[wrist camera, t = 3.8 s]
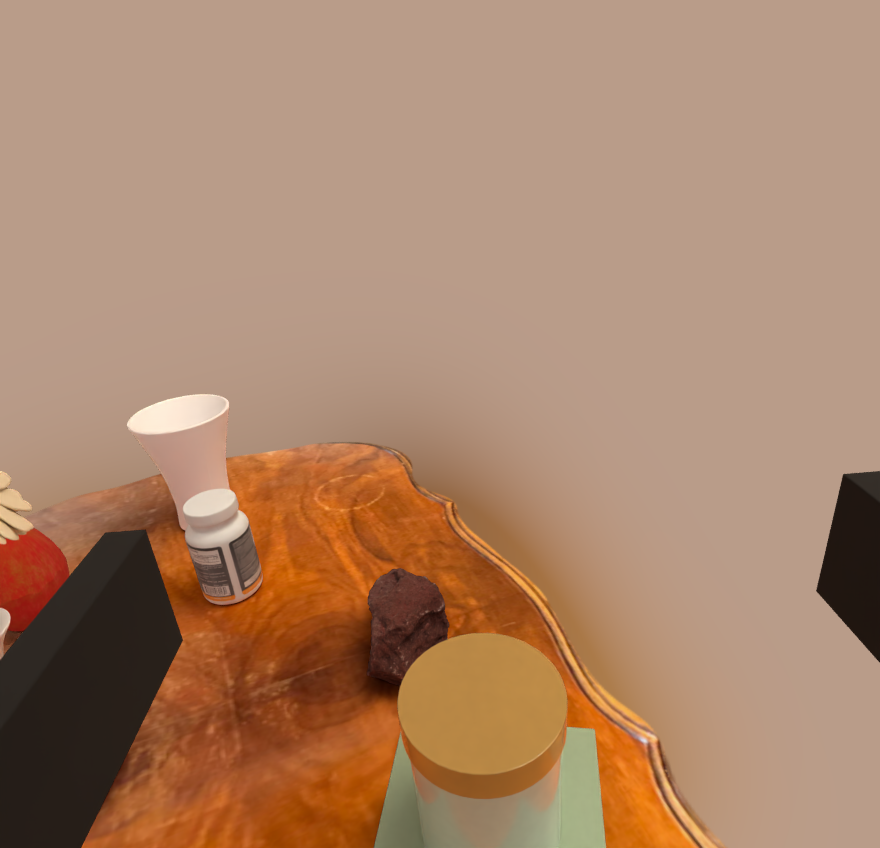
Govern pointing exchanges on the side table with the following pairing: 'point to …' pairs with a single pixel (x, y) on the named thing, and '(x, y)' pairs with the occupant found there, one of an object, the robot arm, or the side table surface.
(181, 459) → the cup
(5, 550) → the apple
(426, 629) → the rock
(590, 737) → the shelf
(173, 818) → the side table surface
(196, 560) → the pill bottle
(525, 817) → the jar
